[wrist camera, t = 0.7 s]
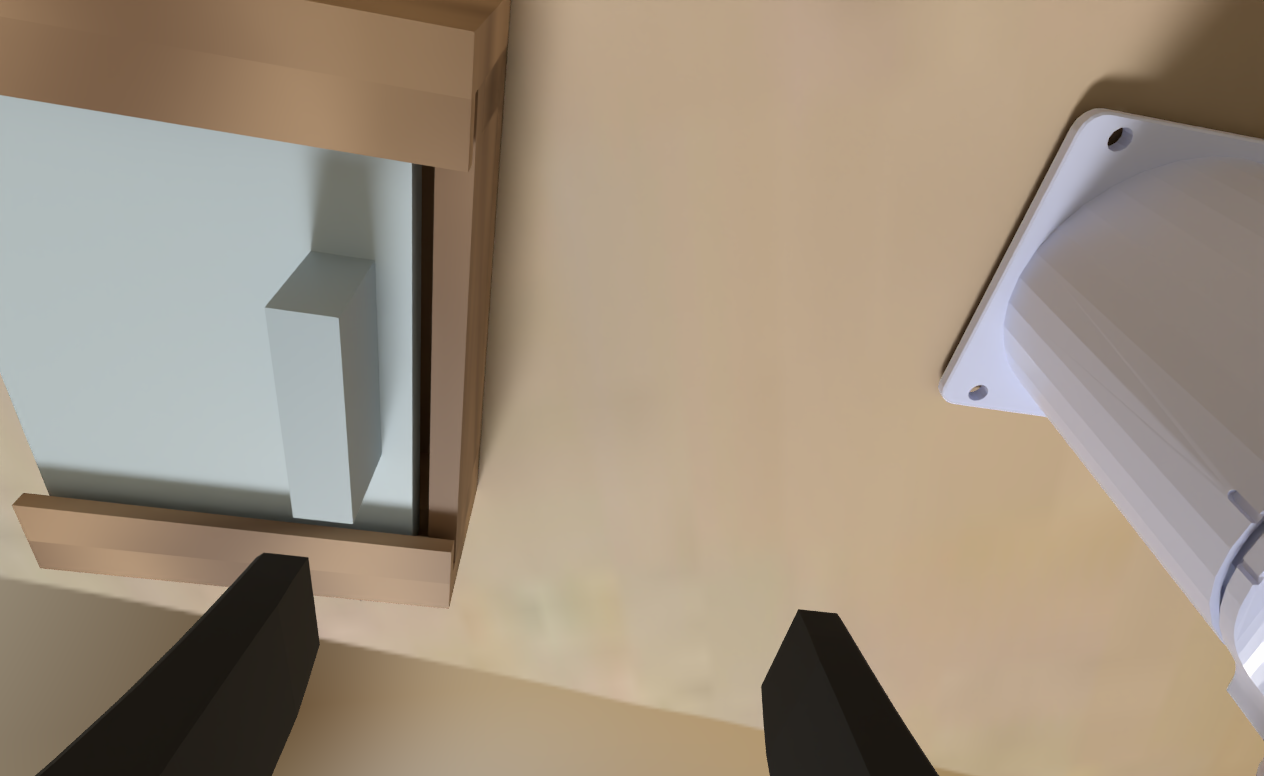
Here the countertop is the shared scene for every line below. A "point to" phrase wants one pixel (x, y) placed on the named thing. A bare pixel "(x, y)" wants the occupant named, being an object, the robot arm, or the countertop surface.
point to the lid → (211, 318)
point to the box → (324, 118)
